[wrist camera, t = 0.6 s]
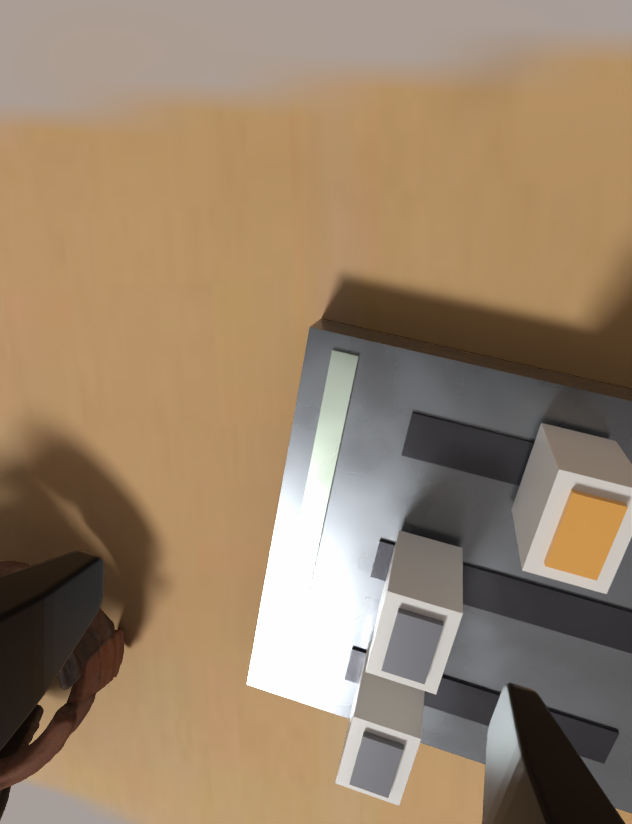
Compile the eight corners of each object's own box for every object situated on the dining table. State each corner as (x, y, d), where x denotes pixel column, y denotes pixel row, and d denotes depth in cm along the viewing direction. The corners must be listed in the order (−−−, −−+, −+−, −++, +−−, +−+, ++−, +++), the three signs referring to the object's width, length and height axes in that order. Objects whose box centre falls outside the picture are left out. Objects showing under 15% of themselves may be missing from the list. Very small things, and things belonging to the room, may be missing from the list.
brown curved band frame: (-88, 519, 26) (-201, 583, 18) (131, 510, 29) (113, 563, 21) (-78, 773, 27) (-183, 940, 19) (133, 745, 29) (118, 883, 21)
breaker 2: (427, 659, 20) (420, 744, 16) (407, 720, 21) (398, 812, 17) (369, 641, 20) (351, 721, 17) (353, 702, 21) (334, 789, 18)
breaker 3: (615, 440, 16) (653, 496, 13) (581, 527, 17) (608, 599, 14) (541, 422, 16) (560, 473, 13) (511, 509, 17) (523, 575, 14)
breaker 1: (462, 547, 18) (462, 618, 15) (439, 619, 19) (435, 700, 16) (398, 530, 18) (386, 595, 15) (379, 601, 19) (364, 677, 16)
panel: (959, 463, 16) (1010, 489, 14) (736, 812, 21) (757, 857, 19) (321, 318, 19) (309, 327, 17) (259, 656, 24) (245, 686, 22)
